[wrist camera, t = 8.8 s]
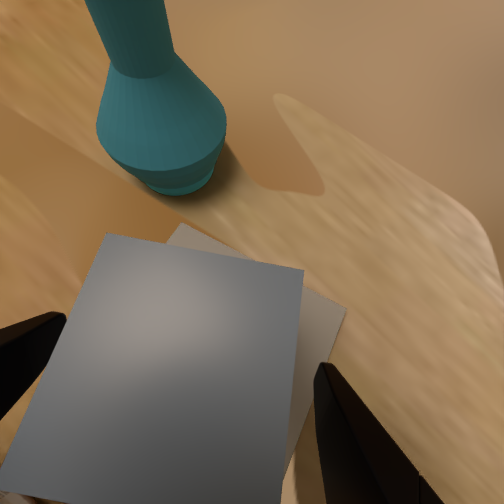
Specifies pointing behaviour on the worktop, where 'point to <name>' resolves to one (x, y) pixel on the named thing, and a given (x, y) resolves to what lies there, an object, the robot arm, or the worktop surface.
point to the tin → (15, 498)
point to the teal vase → (154, 101)
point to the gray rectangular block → (165, 383)
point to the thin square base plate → (308, 340)
